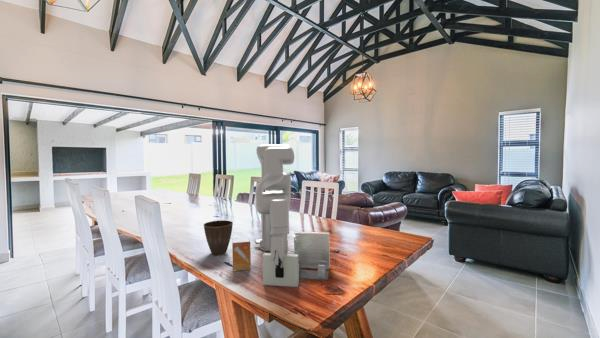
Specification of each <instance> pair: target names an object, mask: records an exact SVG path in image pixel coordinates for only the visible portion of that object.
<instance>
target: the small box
mask: <svg viewBox="0 0 600 338" xmlns="http://www.w3.org/2000/svg"><path fill="white" fill-rule="evenodd" d="M231 246H232V253H231V254H232V272H236V271H237V272H238V271H239V272H240V271H247V270H248V271H249V270H250V269H252V265H251V264H252V263H251V261H252V260H251V258H252V255H251V238H250V237H244V238H243V237H242V238H234V239H232V245H231Z"/></svg>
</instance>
